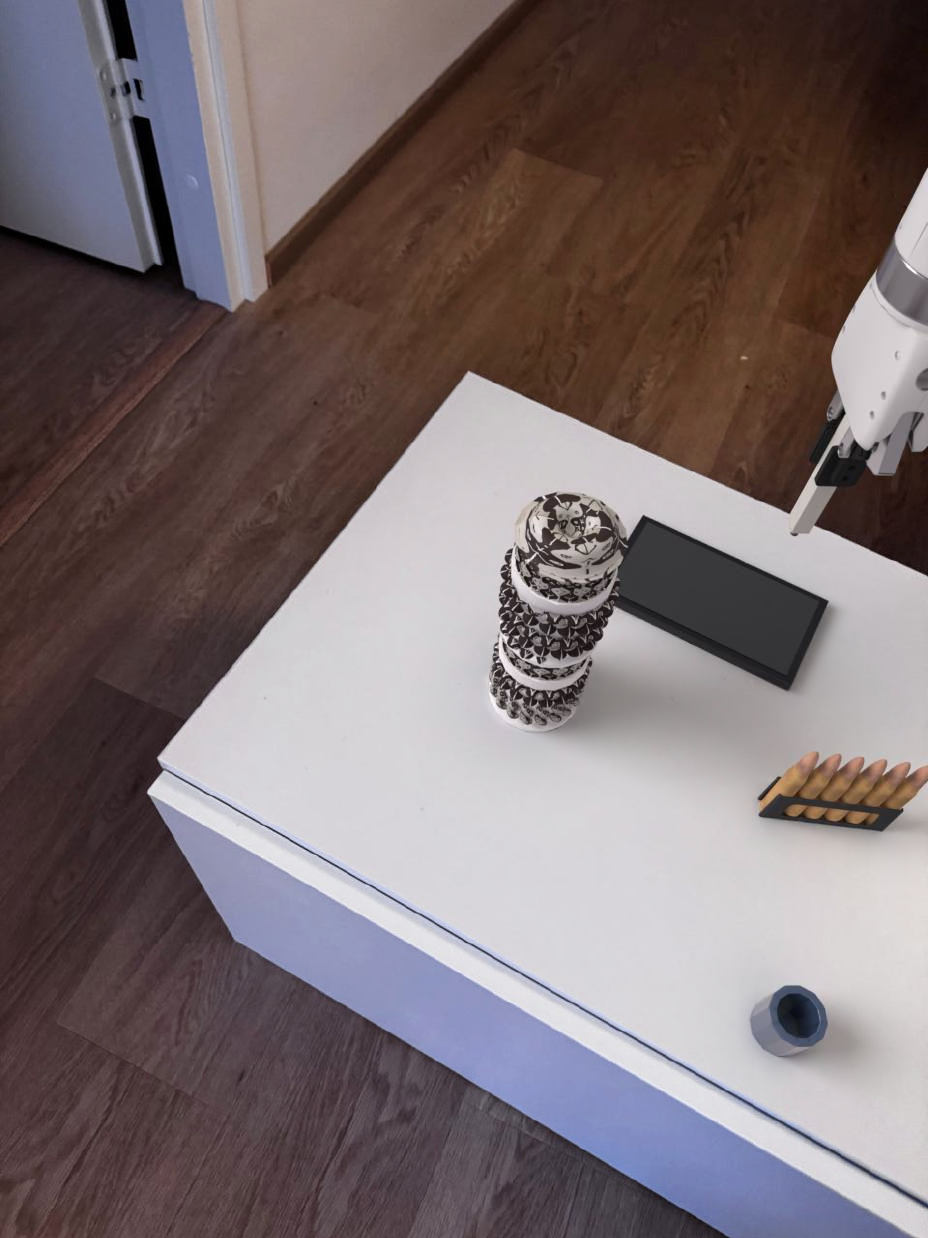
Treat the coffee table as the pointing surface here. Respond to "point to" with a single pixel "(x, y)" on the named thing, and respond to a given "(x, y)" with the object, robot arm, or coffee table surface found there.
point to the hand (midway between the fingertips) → (830, 471)
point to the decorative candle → (554, 607)
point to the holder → (789, 1021)
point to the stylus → (814, 493)
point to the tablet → (717, 602)
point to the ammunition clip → (842, 792)
